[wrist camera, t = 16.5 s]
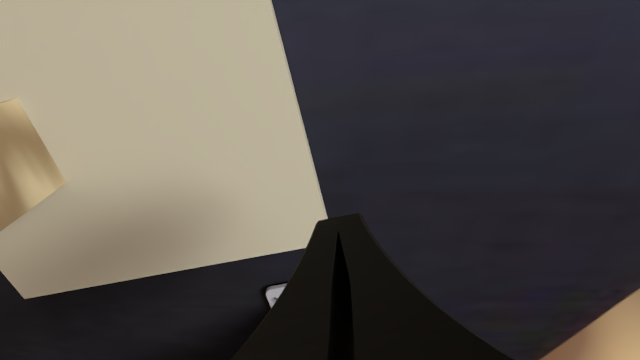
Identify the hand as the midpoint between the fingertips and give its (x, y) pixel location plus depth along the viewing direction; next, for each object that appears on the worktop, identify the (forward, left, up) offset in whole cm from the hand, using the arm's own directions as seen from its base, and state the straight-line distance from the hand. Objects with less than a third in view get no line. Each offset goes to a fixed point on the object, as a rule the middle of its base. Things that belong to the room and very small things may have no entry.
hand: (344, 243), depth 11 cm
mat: (+2, +13, -10) cm, 16 cm away
